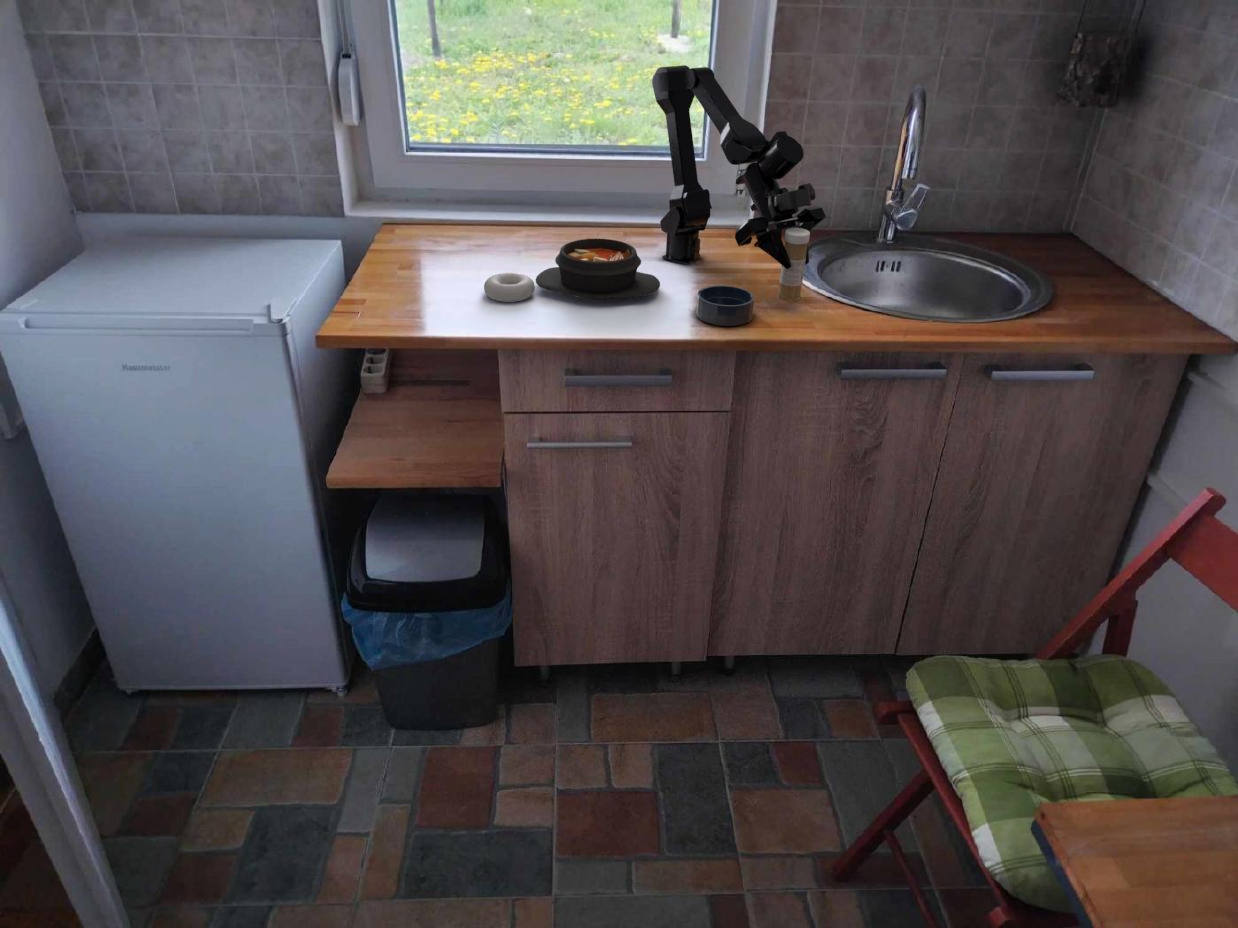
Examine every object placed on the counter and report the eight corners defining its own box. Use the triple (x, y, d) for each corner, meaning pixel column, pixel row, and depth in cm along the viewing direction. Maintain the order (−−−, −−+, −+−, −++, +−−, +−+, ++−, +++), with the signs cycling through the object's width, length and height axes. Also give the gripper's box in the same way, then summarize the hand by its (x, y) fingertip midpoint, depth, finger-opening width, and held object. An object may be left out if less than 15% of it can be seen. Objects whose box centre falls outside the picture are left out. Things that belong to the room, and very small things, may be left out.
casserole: (664, 279, 191) (666, 239, 187) (654, 312, 175) (656, 270, 171) (546, 270, 194) (545, 231, 189) (526, 302, 178) (525, 260, 173)
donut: (522, 308, 176) (543, 290, 184) (521, 291, 174) (542, 273, 182) (475, 301, 178) (497, 283, 186) (474, 284, 177) (496, 266, 185)
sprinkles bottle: (782, 292, 181) (791, 225, 173) (804, 298, 178) (814, 230, 171) (772, 299, 177) (781, 231, 170) (794, 305, 175) (804, 236, 168)
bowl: (686, 319, 173) (688, 298, 171) (710, 302, 181) (712, 281, 178) (738, 331, 168) (740, 310, 166) (760, 313, 176) (763, 292, 174)
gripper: (751, 175, 163) (786, 254, 162) (826, 163, 172) (860, 237, 171) (719, 208, 173) (752, 282, 171) (792, 194, 182) (823, 265, 180)
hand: (798, 266), depth 173 cm, fingers closed on sprinkles bottle, 4 cm apart
